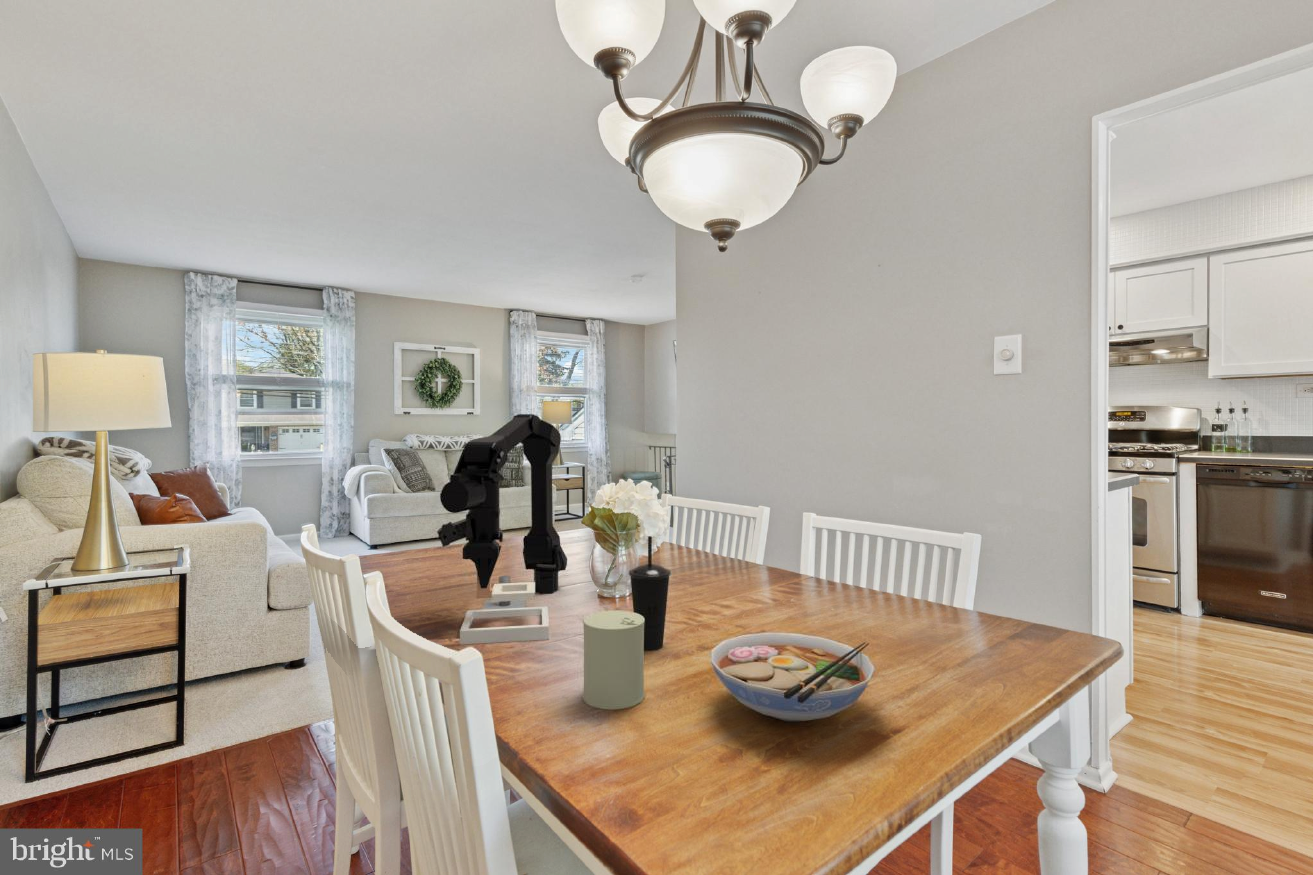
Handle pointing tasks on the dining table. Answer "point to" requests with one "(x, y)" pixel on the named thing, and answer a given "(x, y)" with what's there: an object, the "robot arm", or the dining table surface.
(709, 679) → the dining table surface
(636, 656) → the can
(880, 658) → the dining table surface
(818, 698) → the ramen bowl
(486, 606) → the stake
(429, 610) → the dining table surface
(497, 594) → the ring
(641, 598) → the drinking cup
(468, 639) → the tray
